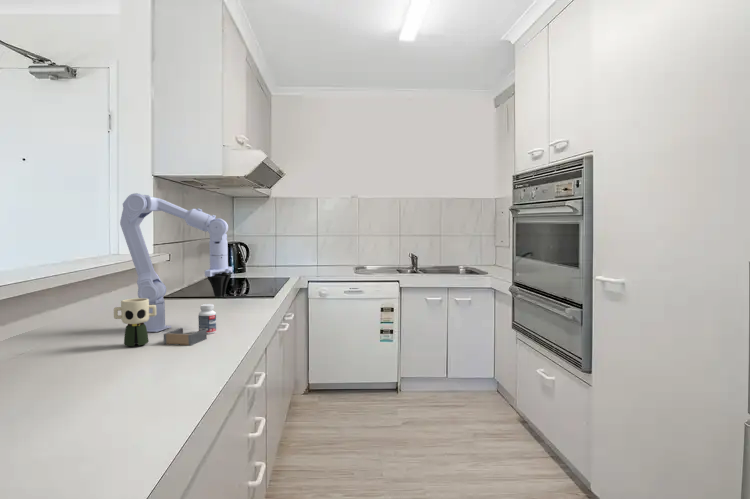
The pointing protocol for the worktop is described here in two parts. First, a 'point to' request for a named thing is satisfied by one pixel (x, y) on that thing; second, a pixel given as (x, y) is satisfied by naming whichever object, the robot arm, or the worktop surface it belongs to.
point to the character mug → (135, 319)
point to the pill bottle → (207, 318)
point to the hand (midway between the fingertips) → (219, 296)
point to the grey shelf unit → (184, 337)
